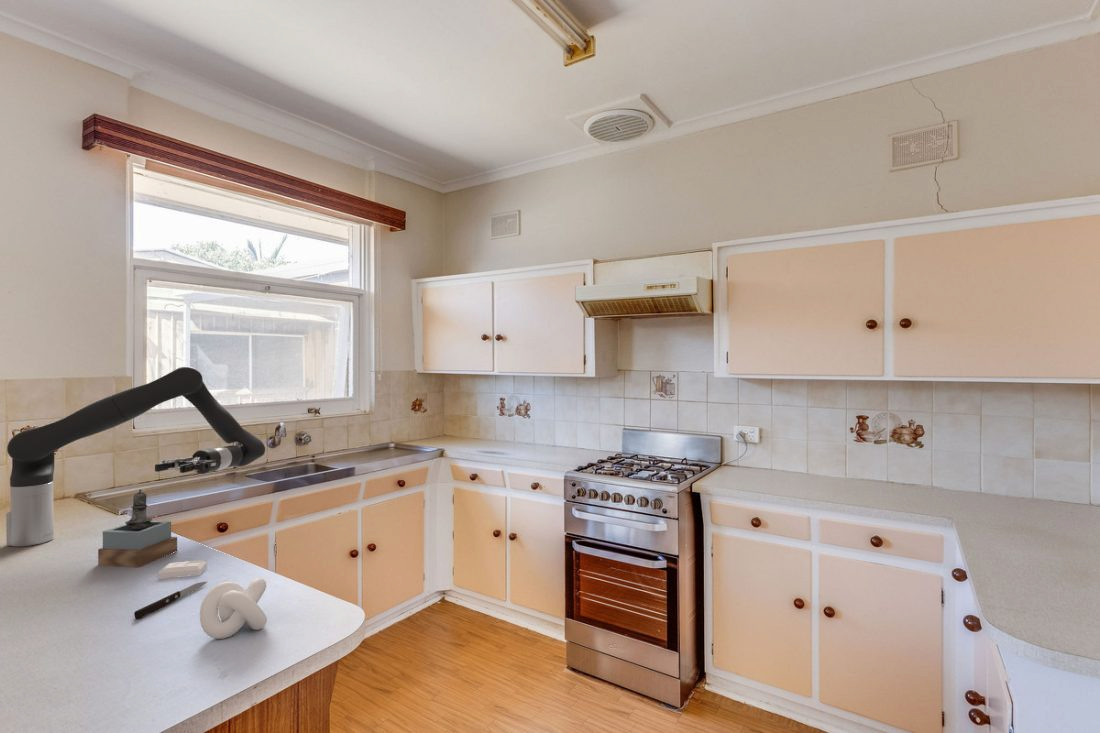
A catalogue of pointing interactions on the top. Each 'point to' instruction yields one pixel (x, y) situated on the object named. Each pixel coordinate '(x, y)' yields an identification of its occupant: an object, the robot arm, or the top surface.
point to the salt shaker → (139, 513)
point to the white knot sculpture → (232, 608)
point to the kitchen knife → (166, 601)
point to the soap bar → (182, 569)
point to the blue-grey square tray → (136, 536)
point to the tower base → (137, 554)
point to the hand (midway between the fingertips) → (168, 468)
